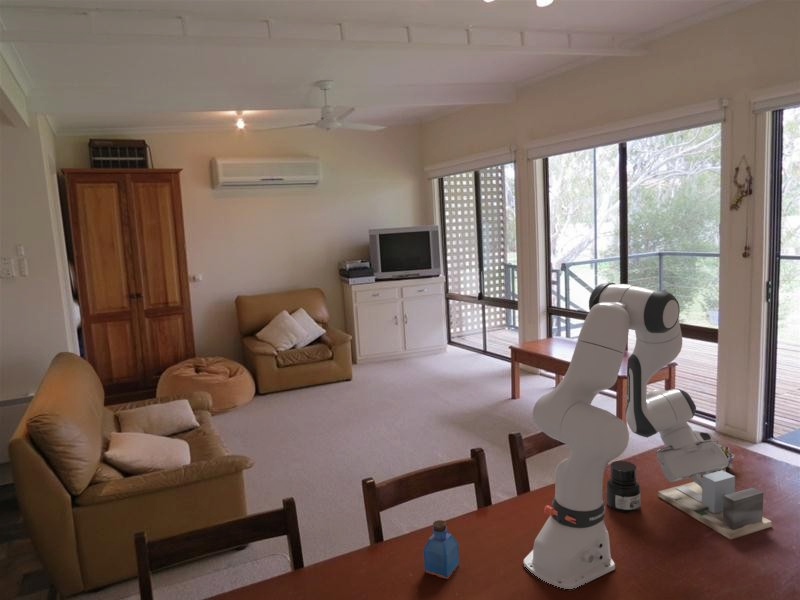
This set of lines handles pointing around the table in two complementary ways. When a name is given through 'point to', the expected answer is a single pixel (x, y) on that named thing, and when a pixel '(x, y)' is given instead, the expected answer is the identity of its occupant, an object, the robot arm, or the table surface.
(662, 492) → the bench
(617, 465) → the ink bottle
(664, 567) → the table surface
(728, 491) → the gauge slider
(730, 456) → the passion flower
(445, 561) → the perfume bottle
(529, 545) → the table surface
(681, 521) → the table surface
